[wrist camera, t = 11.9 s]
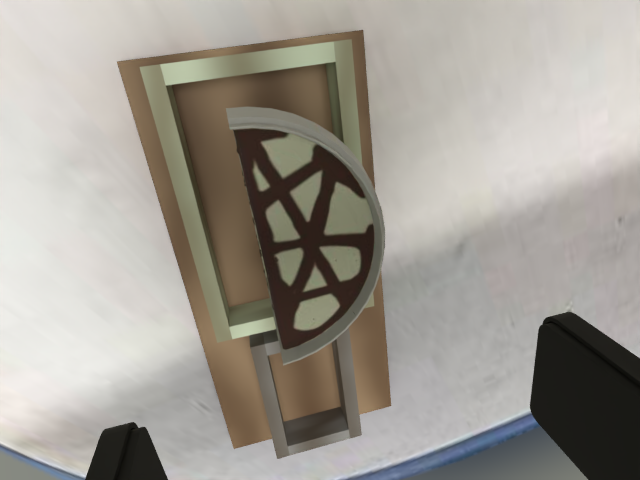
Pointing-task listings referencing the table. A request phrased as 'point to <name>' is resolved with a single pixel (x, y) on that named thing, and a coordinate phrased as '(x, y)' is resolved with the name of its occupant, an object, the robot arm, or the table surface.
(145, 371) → the table surface
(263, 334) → the fitting board
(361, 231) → the food container
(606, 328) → the table surface
